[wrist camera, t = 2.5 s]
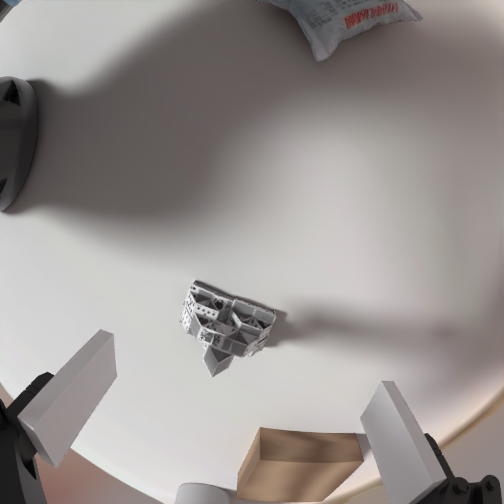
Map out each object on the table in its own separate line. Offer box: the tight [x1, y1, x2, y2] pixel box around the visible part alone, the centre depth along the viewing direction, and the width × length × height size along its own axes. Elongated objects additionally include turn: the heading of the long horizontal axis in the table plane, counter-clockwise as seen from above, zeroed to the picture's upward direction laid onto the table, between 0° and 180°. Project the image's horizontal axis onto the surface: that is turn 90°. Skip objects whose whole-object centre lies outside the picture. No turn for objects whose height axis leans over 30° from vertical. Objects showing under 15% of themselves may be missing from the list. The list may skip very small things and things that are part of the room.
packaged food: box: [256, 0, 423, 61], centre depth 13 cm, size 9×12×5 cm
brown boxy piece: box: [236, 427, 364, 502], centre depth 25 cm, size 12×12×5 cm
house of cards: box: [179, 280, 277, 377], centre depth 19 cm, size 9×9×8 cm
